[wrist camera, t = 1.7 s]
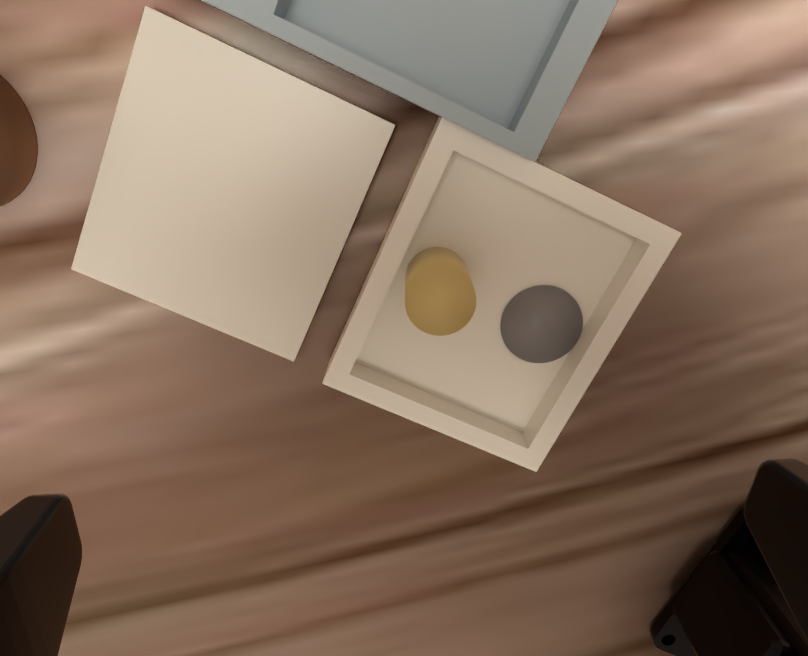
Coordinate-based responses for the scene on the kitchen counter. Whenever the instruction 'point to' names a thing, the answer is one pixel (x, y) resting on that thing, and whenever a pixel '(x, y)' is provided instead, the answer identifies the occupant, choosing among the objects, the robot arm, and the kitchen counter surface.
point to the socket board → (450, 54)
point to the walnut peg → (15, 144)
